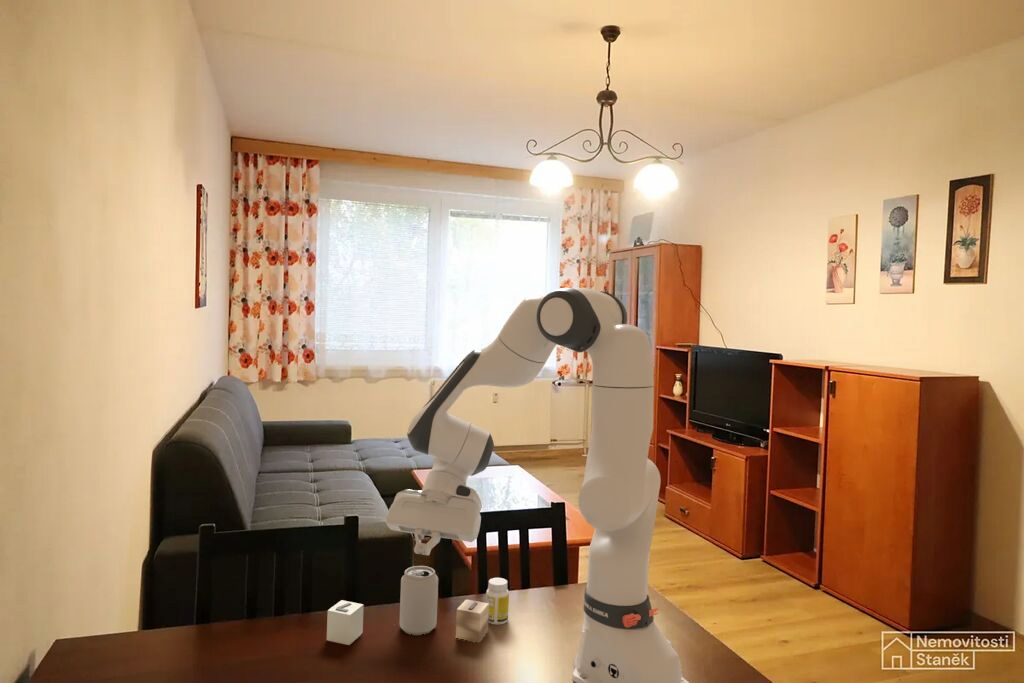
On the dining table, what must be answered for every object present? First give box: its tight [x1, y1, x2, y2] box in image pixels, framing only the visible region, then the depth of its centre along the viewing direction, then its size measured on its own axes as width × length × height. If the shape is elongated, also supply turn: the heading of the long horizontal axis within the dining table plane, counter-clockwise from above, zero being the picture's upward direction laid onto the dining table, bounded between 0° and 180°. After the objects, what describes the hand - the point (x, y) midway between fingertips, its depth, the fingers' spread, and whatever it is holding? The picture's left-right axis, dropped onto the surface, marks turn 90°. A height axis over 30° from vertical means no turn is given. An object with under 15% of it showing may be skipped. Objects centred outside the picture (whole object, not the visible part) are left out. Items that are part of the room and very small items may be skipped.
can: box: [398, 565, 439, 636], centre depth 138 cm, size 8×8×12 cm
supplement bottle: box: [485, 577, 510, 626], centre depth 143 cm, size 5×5×8 cm
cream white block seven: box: [326, 599, 365, 646], centre depth 133 cm, size 5×5×6 cm
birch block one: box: [455, 598, 489, 644], centre depth 136 cm, size 5×5×6 cm
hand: (421, 553), depth 138 cm, fingers closed
